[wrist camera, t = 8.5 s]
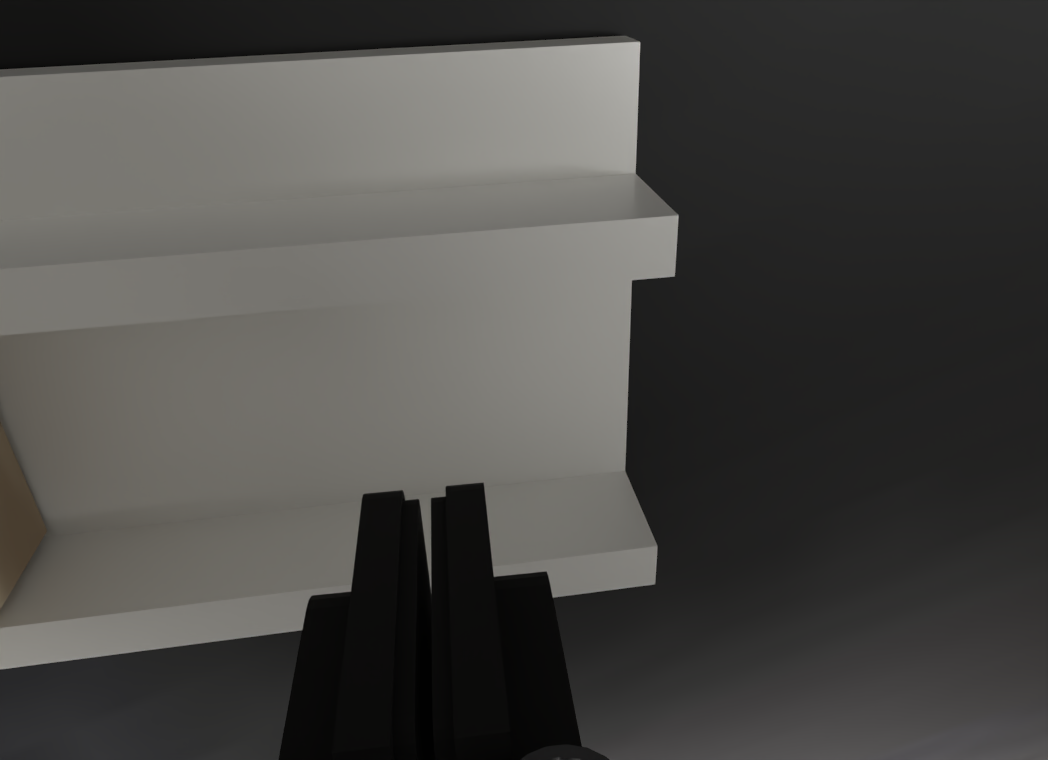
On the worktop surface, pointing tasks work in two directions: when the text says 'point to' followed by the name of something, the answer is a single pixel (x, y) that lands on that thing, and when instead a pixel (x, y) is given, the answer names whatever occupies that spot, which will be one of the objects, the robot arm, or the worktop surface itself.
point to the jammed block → (15, 520)
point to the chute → (314, 325)
